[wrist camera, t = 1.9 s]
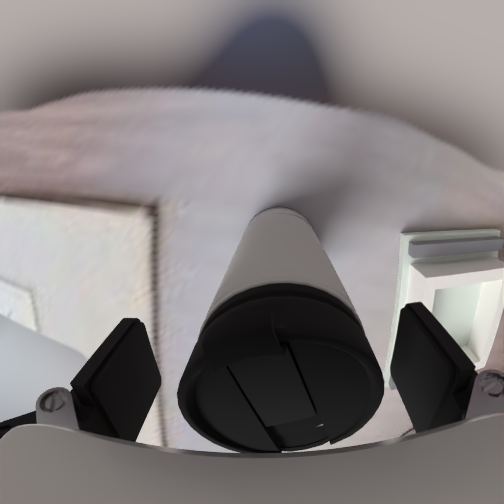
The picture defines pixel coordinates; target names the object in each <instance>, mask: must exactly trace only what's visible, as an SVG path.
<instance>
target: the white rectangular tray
mask: <svg viewBox="0 0 504 504" xmlns="http://www.w3.org/2000/svg"><path fill="white" fill-rule="evenodd" d="M500 234H501V231H500V230H498V229H473V230H450V231H429V232H409V233H400V250H399V266H398V278H397V289H396V298H395V306H394V314H393V321H392V328H391V335H390V341H389V347H388V352H387V358H386V363H385V368H384V373H383V378H384V381H385V382H384V388H385V387H390V388H391V390H394V389H397V387H396V385H395V383H394V381H393V378H392V376H391V373H390V364H391V360H392V355H393V350H394V345H395V340H396V334H397V328H398V322H399V316H400V310H401V309H402V308H404V307H405V305H406V304H407V303H413V302H422V303H423V304H424V305H425V306H426V308H427V309H428V310H429V311H430V312H431V313H432V314H433V315H434V317H435V318H436V319H437V320H438V321H439V322H440V323H441V325H442V326H443V327H444V328H445V329H446V330H447V332H448V333H449V334H450V335H451V336H452V338H453V339H454V340H455V341H456V342H457V344H458V345H459V346H460V347H461V348H462V350H463V351H464V352H465V353H466V355H467V356H468V357H469V358H470V360H471V361H472V362H473V364H474V365H475V366H476V368H475V370H477V369H480V368H483V367H485V364H486V361H487V359H488V356H489V353H490V350H491V348H492V345H493V342H494V338H495V335H496V332H497V329H498V326H499V322H500V319H501V315H502V311H503V307H504V262H503V261H501V260H500V259H498V251H500V250H503V243H504V239H503V238H500Z"/></svg>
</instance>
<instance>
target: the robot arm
mask: <svg viewBox="0 0 504 504" xmlns="http://www.w3.org/2000/svg"><path fill="white" fill-rule="evenodd" d="M475 368H476V366H475V365H474V364H473V362H472V361H471V360H470V358H469V357H468V356H467V355H466V353H465V352H464V351H463V350H462V348H461V347H460V346H459V345H458V344H457V342H456V341H455V340H454V339H453V338H452V336H451V335H450V334H449V333H448V332H447V330H446V329H445V328H444V327H443V326H442V325H441V323H440V322H439V321H438V320H437V319H436V318H435V317H434V315H433V314H432V313H431V312H430V311H429V310H428V309H427V308H426V306H425V305H424V304H423V303H422V302H413V303H407V304H406V305H405V307H404V308H402V309H401V310H400V316H399V322H398V328H397V334H396V340H395V345H394V350H393V355H392V360H391V364H390V373H391V376H392V378H393V381H394V383H395V385H396V387H397V389H398V392H399V394H400V396H401V398H402V401H403V403H404V405H405V408H406V410H407V412H408V415H409V417H410V419H411V422H412V424H413V427H414V429H413V430H411V431H410V432H408V433H407V434H405V435H403V436H402V437H398V438H394V439H389V440H384V441H379V442H374V443H369V444H363V445H357V446H350V447H343V448H336V449H327V450H317V451H306V452H291V453H221V452H206V451H194V450H184V449H176V448H168V447H161V446H155V445H149V444H143V443H137V442H135V441H136V439H137V437H138V435H139V432H140V430H141V428H142V426H143V423H144V421H145V419H146V417H147V414H148V412H149V410H150V408H151V406H152V403H153V401H154V399H155V397H156V395H157V393H158V390H159V388H160V386H161V375H160V372H159V369H158V366H157V363H156V360H155V357H154V354H153V351H152V348H151V345H150V341H149V338H148V335H147V331H146V328H145V325H144V323H143V322H140V320H139V319H138V318H123V319H122V320H121V321H120V323H119V324H118V325H117V326H116V327H115V329H114V330H113V331H112V332H111V333H110V334H109V336H108V337H107V338H106V339H105V340H104V342H103V343H102V344H101V345H100V347H99V348H98V349H97V350H96V351H95V353H94V354H93V355H92V356H91V358H90V359H89V360H88V361H87V362H86V364H85V365H84V366H83V368H82V369H81V370H80V371H79V373H78V374H77V375H76V376H75V378H74V379H73V380H72V381H71V383H70V384H71V386H72V388H73V389H72V390H71V391H68V390H67V389H65V388H63V387H56V388H51V389H49V390H47V391H45V392H44V393H42V394H41V395H40V397H39V398H38V400H37V402H36V411H33V412H30V413H28V414H25V415H21V416H18V417H15V418H12V419H9V420H6V421H3V422H1V423H0V504H504V373H503V372H500V371H497V370H491V369H490V370H484V371H482V372H480V373H479V374H478V373H477V372H476V371H475Z"/></svg>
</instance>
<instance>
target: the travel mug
mask: <svg viewBox="0 0 504 504" xmlns="http://www.w3.org/2000/svg"><path fill="white" fill-rule="evenodd" d="M384 382H385V381H384V378H383V375H382V371H381V368H380V366H379V364H378V362H377V359H376V357H375V355H374V353H373V350H372V348H371V346H370V344H369V342H368V339H367V337H366V336H365V332H364V329H363V326H362V324H361V321H360V319H359V317H358V315H357V313H356V311H355V308H354V306H353V304H352V302H351V300H350V298H349V296H348V294H347V292H346V290H345V289H344V287H343V285H342V283H341V281H340V279H339V277H338V275H337V273H336V271H335V269H334V267H333V265H332V264H331V262H330V260H329V258H328V256H327V254H326V252H325V250H324V249H323V247H322V245H321V243H320V241H319V239H318V238H317V236H316V234H315V232H314V230H313V229H312V227H311V225H310V224H309V222H308V221H307V219H306V218H305V217H303V216H302V215H301V214H300V213H298V212H297V211H295V210H292V209H289V208H284V207H273V208H269V209H266V210H264V211H262V212H260V213H259V214H257V215H256V216H255V217H254V218H253V219H252V220H251V221H250V223H249V224H248V226H247V228H246V230H245V232H244V234H243V236H242V239H241V241H240V243H239V245H238V247H237V250H236V252H235V254H234V256H233V258H232V260H231V263H230V265H229V267H228V269H227V271H226V274H225V276H224V278H223V280H222V282H221V285H220V287H219V289H218V291H217V293H216V296H215V298H214V300H213V302H212V305H211V307H210V309H209V311H208V313H207V316H206V319H205V321H204V322H203V325H202V327H201V330H200V334H199V337H198V341H197V343H196V345H195V347H194V349H193V352H192V354H191V356H190V359H189V361H188V363H187V366H186V368H185V371H184V373H183V375H182V377H181V380H180V383H179V387H178V391H177V398H178V406H179V408H180V410H181V413H182V415H183V417H184V419H185V420H186V421H187V422H188V424H189V425H190V426H191V427H192V428H193V429H194V430H195V431H196V432H198V433H199V434H200V435H201V436H202V437H204V438H206V439H207V440H209V441H211V442H213V443H214V444H217V445H219V446H221V447H224V448H226V449H229V450H232V451H236V452H240V453H282V451H298V450H304V449H309V448H313V447H316V446H320V445H323V444H325V443H326V442H328V441H330V444H331V445H332V444H334V443H336V442H339V441H341V440H343V439H345V438H347V437H349V436H351V435H353V434H354V433H355V432H357V431H358V430H359V429H361V428H362V427H363V426H364V425H365V424H366V423H367V422H368V421H369V420H370V419H371V418H372V417H373V415H374V414H375V412H376V411H377V409H378V408H379V406H380V404H381V401H382V398H383V395H384Z"/></svg>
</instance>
